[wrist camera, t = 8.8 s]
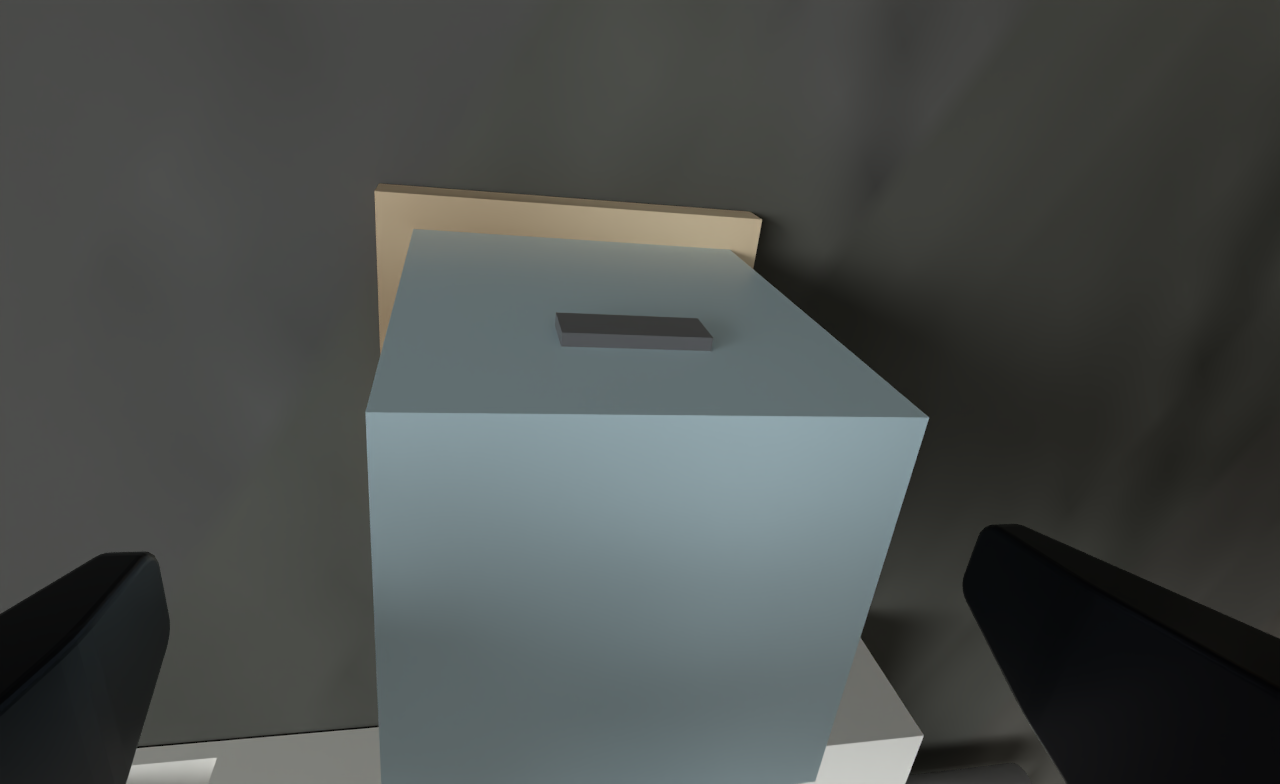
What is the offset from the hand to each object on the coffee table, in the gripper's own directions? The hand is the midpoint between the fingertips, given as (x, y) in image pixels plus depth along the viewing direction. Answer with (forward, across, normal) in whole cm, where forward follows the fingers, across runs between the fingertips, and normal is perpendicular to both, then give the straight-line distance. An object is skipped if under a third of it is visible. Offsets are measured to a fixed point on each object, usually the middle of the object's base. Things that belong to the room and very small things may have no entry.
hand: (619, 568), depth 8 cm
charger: (+5, 0, +1) cm, 5 cm away
